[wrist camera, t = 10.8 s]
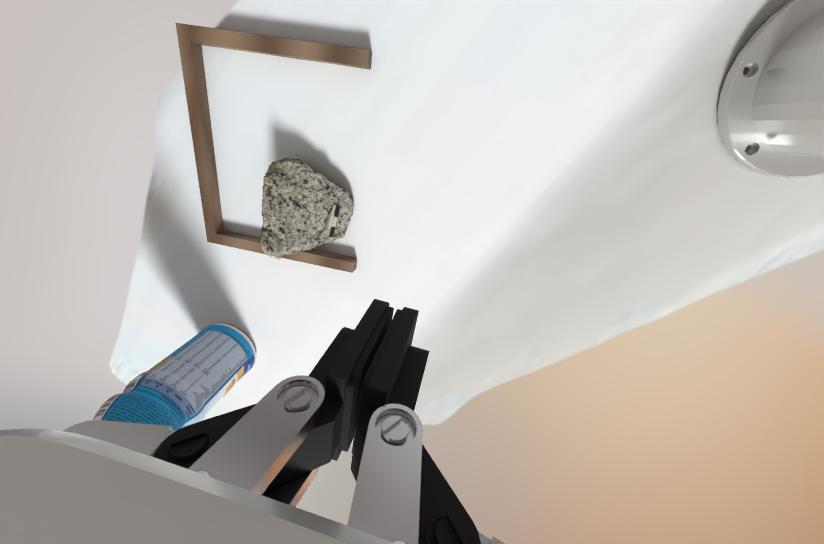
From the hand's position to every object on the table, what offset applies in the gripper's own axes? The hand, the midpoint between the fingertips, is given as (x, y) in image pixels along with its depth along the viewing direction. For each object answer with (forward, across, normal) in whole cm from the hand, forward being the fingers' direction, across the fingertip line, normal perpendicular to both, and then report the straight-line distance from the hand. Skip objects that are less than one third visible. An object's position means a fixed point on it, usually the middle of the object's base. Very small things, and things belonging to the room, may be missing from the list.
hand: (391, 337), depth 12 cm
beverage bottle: (+20, +25, +26) cm, 41 cm away
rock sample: (+21, +14, +3) cm, 26 cm away
